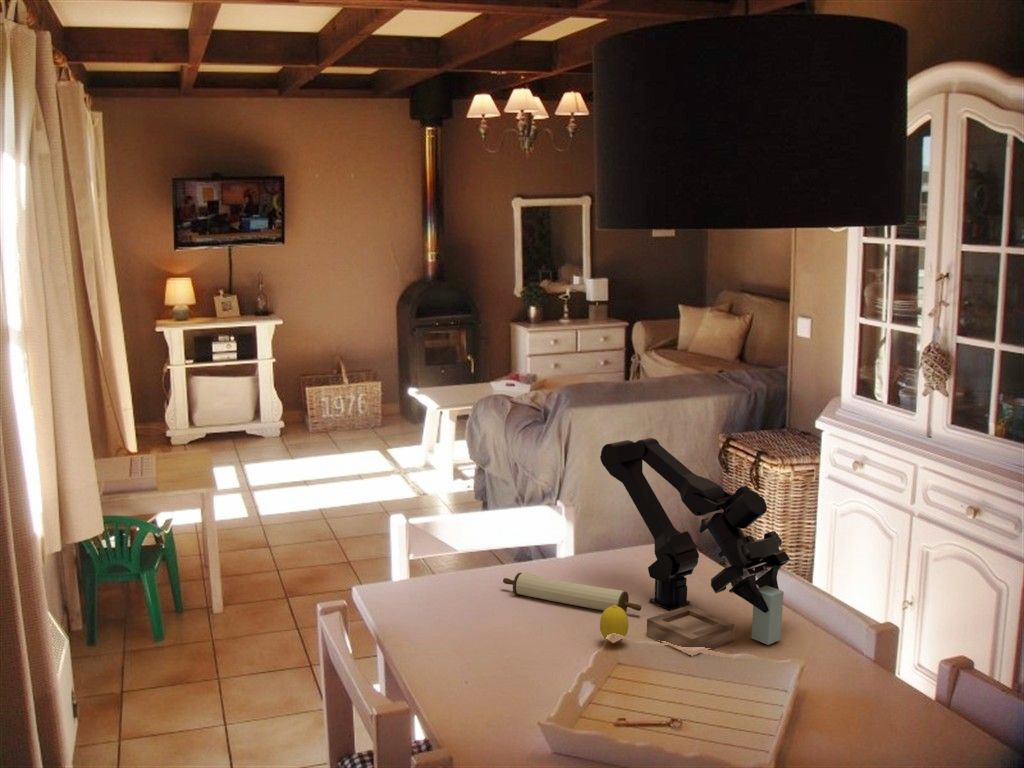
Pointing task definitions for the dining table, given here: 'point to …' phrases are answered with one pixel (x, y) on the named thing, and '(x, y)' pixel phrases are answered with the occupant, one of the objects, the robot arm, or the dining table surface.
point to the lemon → (614, 621)
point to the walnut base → (690, 628)
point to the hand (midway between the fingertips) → (773, 609)
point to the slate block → (768, 616)
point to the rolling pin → (569, 592)
